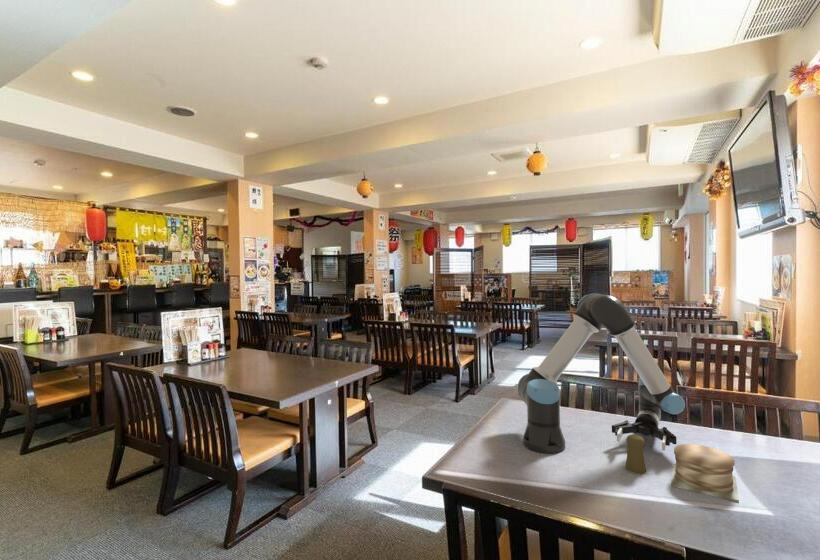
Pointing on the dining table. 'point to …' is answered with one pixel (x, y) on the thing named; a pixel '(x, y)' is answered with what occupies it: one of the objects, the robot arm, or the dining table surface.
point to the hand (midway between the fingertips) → (640, 441)
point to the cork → (635, 455)
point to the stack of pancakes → (704, 471)
